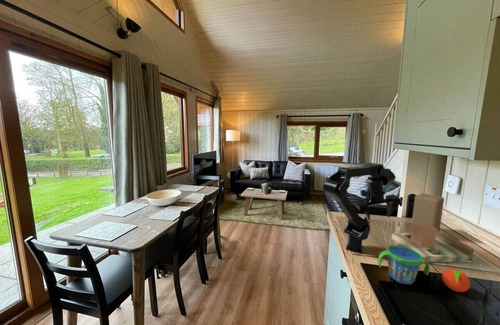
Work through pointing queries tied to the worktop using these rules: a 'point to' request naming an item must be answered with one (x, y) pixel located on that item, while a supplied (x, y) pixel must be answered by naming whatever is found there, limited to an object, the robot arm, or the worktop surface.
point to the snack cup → (403, 263)
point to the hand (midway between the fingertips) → (378, 218)
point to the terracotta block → (423, 234)
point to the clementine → (456, 280)
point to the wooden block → (428, 210)
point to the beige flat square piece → (438, 248)
